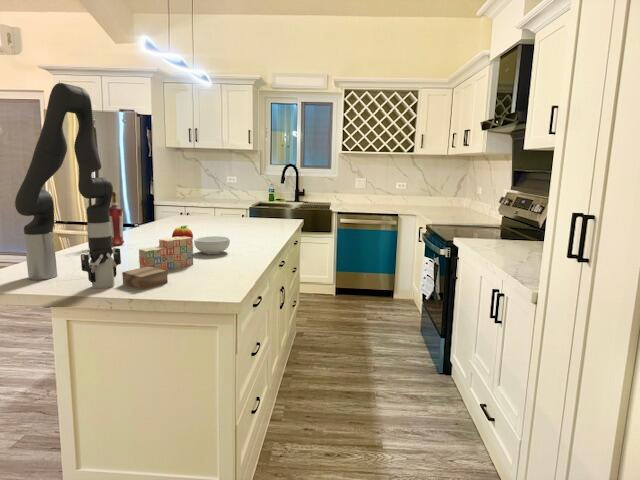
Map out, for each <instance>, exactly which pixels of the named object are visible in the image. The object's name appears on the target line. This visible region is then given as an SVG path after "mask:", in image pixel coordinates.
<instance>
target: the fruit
mask: <svg viewBox="0 0 640 480" xmlns="http://www.w3.org/2000/svg"><path fill="white" fill-rule="evenodd" d="M182 236H186V237H191V238H192V240H194V234H193V231H192V230H191V229H190V228H189V226H188V225H180V227H175V228H174V230H173V231H172V234H171V238H172V237H182Z"/></svg>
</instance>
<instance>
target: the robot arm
mask: <svg viewBox="0 0 640 480" xmlns="http://www.w3.org/2000/svg"><path fill="white" fill-rule="evenodd" d="M48 97H49V98H48V103H47V107H46V112H45V117H44V121H43V125H42V128H41V131H40V134H39V137H38V141H37V142H36V145H35V148H34V151H33V153H32V154H33V155H32V158H31V161H30V164H29V166H28V170H27V172H26V174H25V177H24V179H23V181H22V183H21V184H20V187H19V189H18V191H17V194H16V196H15V202H14V206H15V209H16V212H17V213H18V215H21V216H24V217H30V216H33V218H32V220H31V221H30V222H29V223H27V224H26V225H24V226H23V234H24V235H23V236H24V242H25V251H26V253H25V257H26V259H25V260H26V266H27V267H26V268H27V276H28V279H29V280H33V281H34V280H35V281H37V280H38V281H39V280H48V279H52V278H55V277H58V270H57V269H58V267H57V258H56V247H55V239H54V226H55V204H54V199H53V196H52V195H51V193H50V192H49V191H48V190H44V189H43V187H44V185H45V184H46V183H47V182H48V181H49V180H50V179H51V178H52V177H53V176H54V175H55V174H56V173H57V172H58V171H59V170H60V169H61V167H62V165H63V163H64V160H65V158H66V155H67V152H68V143H67V139H66V137H65V133H64V130H63V123H64V122H65V117H66V115H67V113H68V114H69V113H71V114H75V117H76V119H77V122H78V123H77V124H78V129H77V133H76V136H75V138H74V144H73V148H74V154H75V159H76V162H77V166H78V192H79V193H80V195H81V196H82V197H83V198H84V199H87V200H89V199H90V200H91V199H97V201H96V202H95V203H93V204H91V205H89V206H88V207H87V208H86V219H87V224H86V225H87V226H86V227H87V228H86V229H87V230H86V231H87V242H88V243H87V244H88V249H89V253H85V254H82V253H81V255H80V263H81V271H83V272H86V273H87V275H88V276H87V277H88V281H89V283H91V284H92V283H94V282H96V279H95V272H94V271H95V269H96V267H97V266H98V265H99V264H101V263H103V262H105V261H106V259H112V262H113V269H114V278H116V276H117V267H118V266H119V265H121V264H122V260H121V259H122V257H121V248H118V247H113V245H112V235H111V226H110V218H109V208H110V207H111V204H112V194H113V192H114V187H113V184H112V181H111V180H110V179H109V178H107V177H93V176H92V173H95V172H98V171H100V170H101V169H102V162H101V159H100V155H99V151H98V148H97V141H96V138H95V129H94V128H95V127H94V126H95V125H94V116H93V107H92V106H93V105H92V100H91V99H92V98H91V97H90V94H89V91H87V90H86V89H85V88H83V87H81V86H78V85H77V86H76V85H73V84H67V83H63V82H58V83H56V84H54V86H52V89H51V91H50V94H49V96H48ZM112 247H113V248H112ZM112 256H113V257H112ZM94 262H95V263H94Z"/></svg>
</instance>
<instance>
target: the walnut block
mask: <svg viewBox="0 0 640 480" xmlns="http://www.w3.org/2000/svg"><path fill="white" fill-rule="evenodd" d="M168 281H169V280H168V270H162V269H158V268H153V267H149V266H148V267H144V268H140V267H139V268H135V269H130V270H126V271H122V286H127V287H130V288H133V289H136V290H141V291H142V290H146V289H150V288H153V287H158V286H161V285H165V284H168V283H169V282H168Z"/></svg>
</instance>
